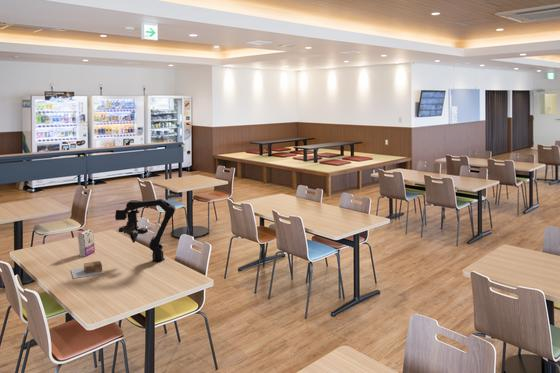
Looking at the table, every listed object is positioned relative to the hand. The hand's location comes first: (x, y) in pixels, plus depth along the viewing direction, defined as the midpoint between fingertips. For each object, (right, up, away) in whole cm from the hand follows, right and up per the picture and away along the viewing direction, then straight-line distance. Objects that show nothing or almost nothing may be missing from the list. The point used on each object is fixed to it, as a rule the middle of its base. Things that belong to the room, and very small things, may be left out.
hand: (133, 242), depth 319 cm
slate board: (-25, -17, -17) cm, 34 cm away
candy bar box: (-38, -10, +18) cm, 43 cm away
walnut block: (-17, -13, -13) cm, 25 cm away
